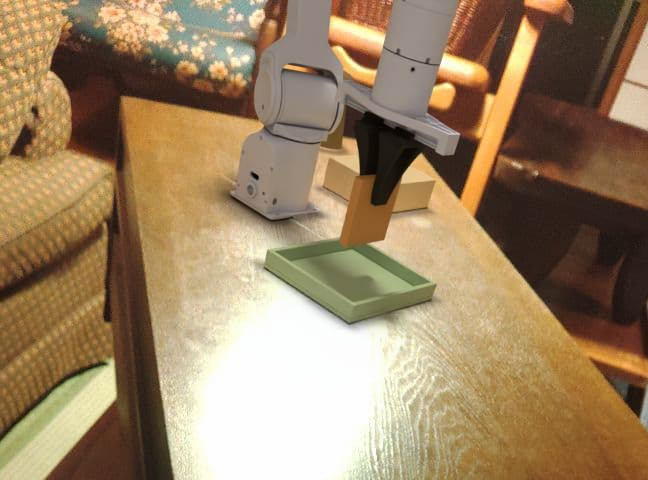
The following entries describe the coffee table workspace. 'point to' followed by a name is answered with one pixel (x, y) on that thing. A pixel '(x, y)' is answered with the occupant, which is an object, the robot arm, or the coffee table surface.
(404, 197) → the toaster
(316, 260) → the tray
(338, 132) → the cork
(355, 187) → the toast
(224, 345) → the coffee table surface
